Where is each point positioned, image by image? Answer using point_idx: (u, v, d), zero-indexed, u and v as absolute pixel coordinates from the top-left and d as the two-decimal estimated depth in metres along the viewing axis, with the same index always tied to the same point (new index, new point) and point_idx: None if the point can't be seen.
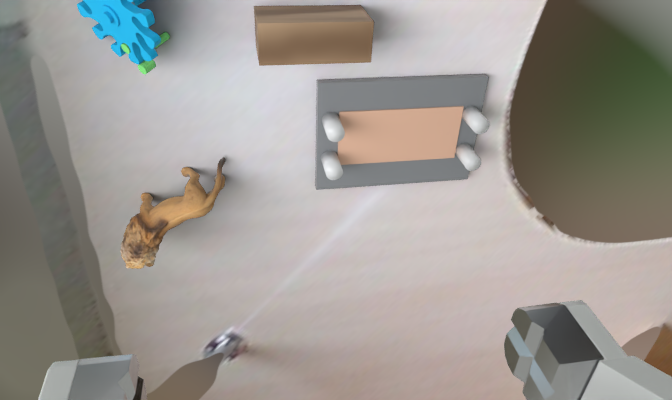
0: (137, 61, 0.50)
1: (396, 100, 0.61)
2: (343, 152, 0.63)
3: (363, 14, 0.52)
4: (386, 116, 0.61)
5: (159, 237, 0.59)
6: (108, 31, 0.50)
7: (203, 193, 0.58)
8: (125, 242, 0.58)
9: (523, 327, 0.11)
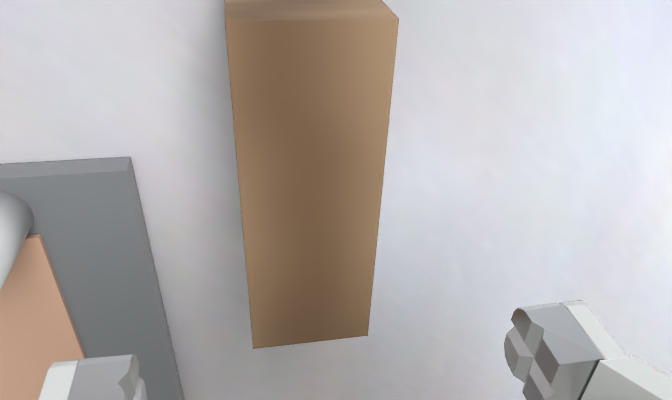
0: None
1: (109, 349, 0.24)
2: None
3: None
4: (55, 342, 0.22)
5: None
6: None
7: None
8: None
9: (523, 327, 0.11)
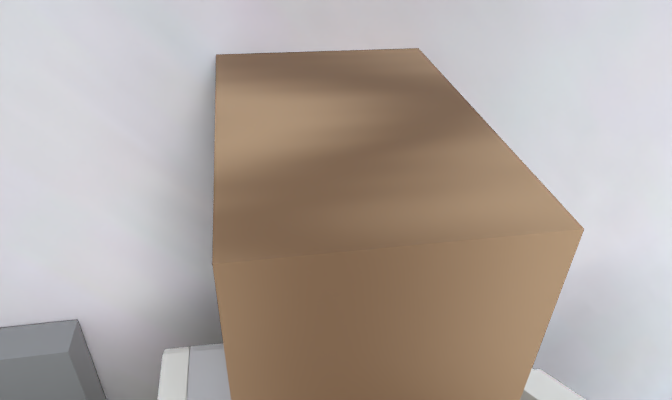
0: None
1: None
2: None
3: None
4: None
5: None
6: None
7: None
8: None
9: None
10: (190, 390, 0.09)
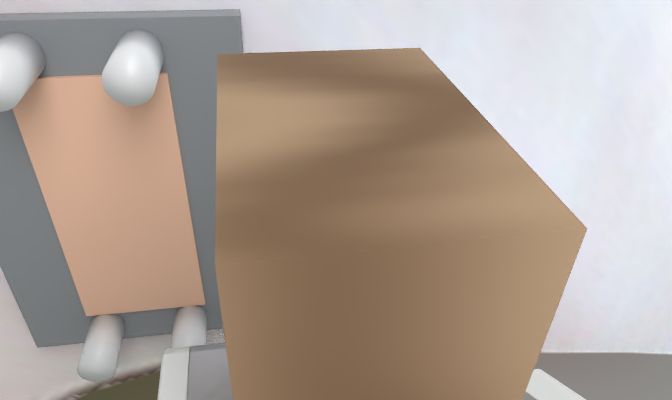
0: None
1: (207, 191, 0.28)
2: (48, 92, 0.24)
3: None
4: (167, 178, 0.27)
5: None
6: None
7: None
8: None
9: None
10: (190, 390, 0.09)
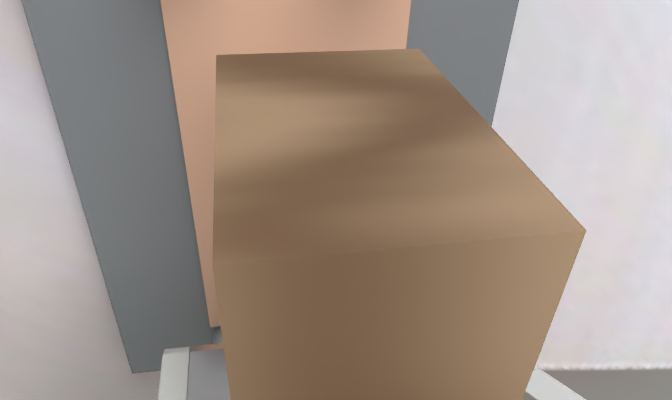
0: None
1: None
2: None
3: None
4: None
5: None
6: None
7: None
8: None
9: None
10: (190, 390, 0.09)
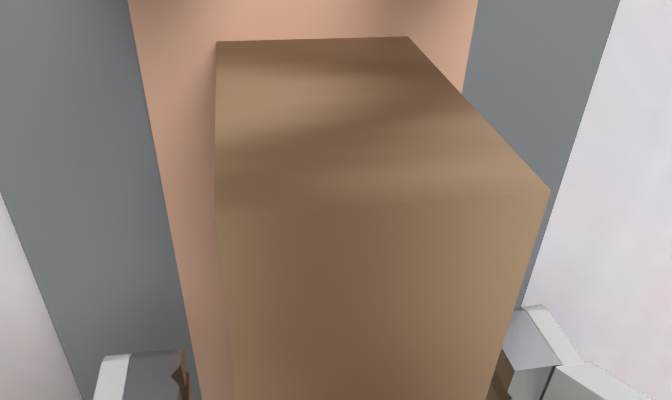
0: None
1: None
2: None
3: None
4: None
5: None
6: None
7: None
8: None
9: None
10: (126, 399, 0.09)
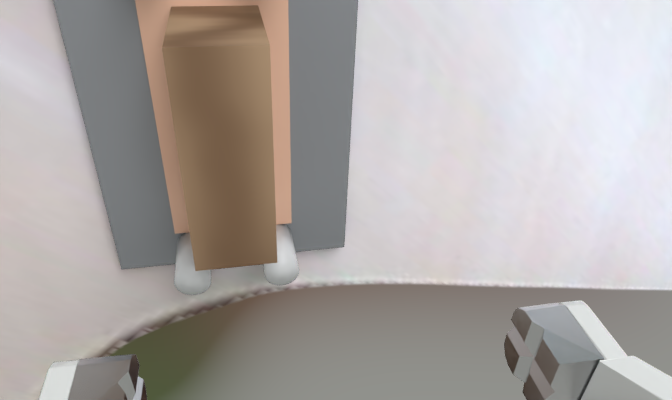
0: None
1: (308, 95, 0.28)
2: None
3: None
4: (273, 79, 0.27)
5: None
6: None
7: None
8: None
9: (523, 327, 0.11)
10: None
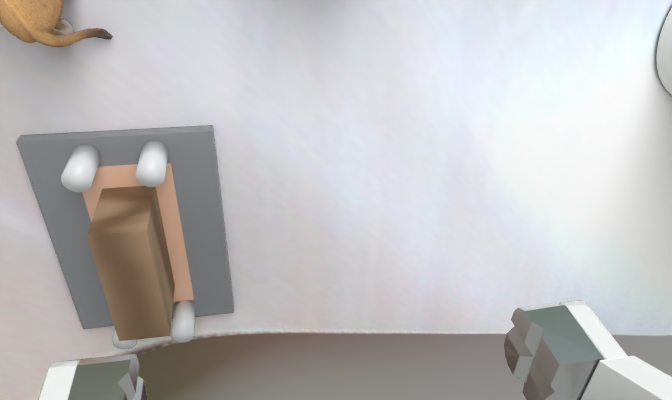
0: None
1: (194, 228, 0.45)
2: (101, 175, 0.41)
3: (171, 310, 0.45)
4: (169, 221, 0.44)
5: None
6: None
7: (56, 24, 0.31)
8: None
9: (523, 327, 0.11)
10: None
